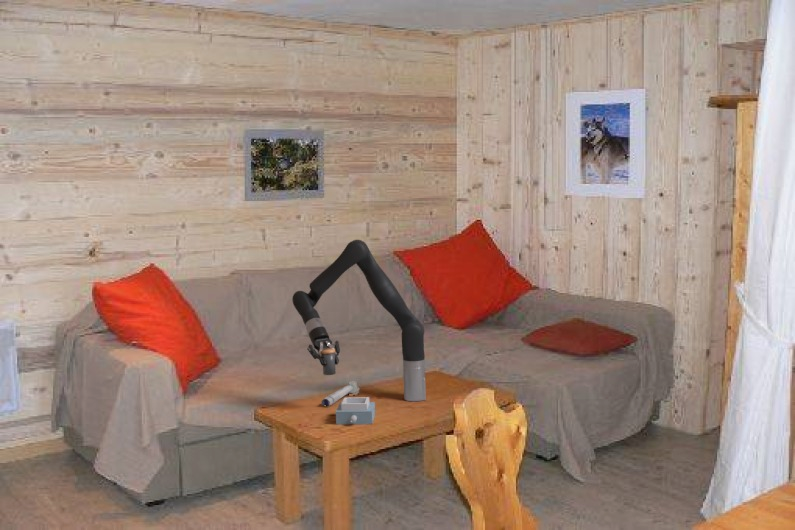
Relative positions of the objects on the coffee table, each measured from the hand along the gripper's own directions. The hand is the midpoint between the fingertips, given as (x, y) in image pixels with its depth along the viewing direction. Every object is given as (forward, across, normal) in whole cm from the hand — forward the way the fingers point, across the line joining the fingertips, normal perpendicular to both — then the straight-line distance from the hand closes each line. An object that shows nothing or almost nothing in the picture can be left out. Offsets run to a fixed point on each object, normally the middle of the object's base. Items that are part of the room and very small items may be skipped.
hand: (331, 364), depth 364 cm
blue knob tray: (+26, +1, +1) cm, 26 cm away
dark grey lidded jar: (+2, 0, +4) cm, 5 cm away
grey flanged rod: (+5, +11, +24) cm, 26 cm away
